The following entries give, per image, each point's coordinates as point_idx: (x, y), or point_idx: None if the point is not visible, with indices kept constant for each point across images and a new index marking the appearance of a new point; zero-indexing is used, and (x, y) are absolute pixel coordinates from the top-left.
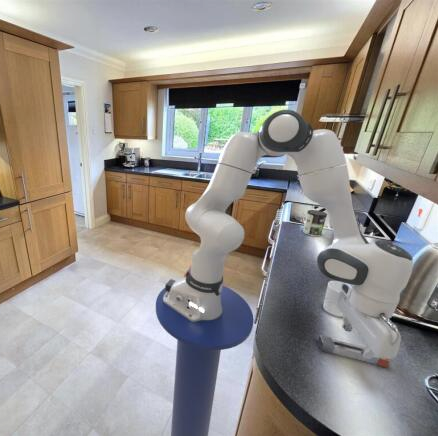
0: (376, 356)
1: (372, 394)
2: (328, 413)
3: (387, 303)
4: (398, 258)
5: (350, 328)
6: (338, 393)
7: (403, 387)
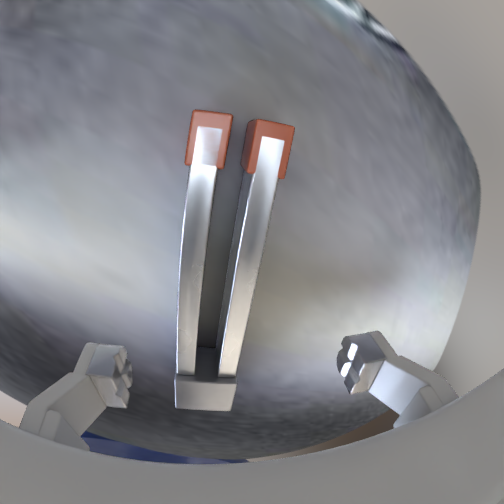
0: (264, 191)
1: (404, 282)
2: None
3: None
4: None
5: (118, 373)
6: None
7: (384, 132)
